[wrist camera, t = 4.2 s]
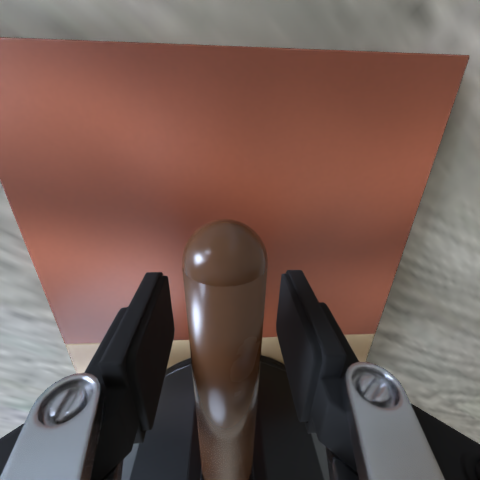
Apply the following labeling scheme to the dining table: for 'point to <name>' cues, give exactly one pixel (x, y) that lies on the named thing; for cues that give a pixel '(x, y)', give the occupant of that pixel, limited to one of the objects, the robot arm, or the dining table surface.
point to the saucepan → (226, 378)
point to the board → (216, 169)
